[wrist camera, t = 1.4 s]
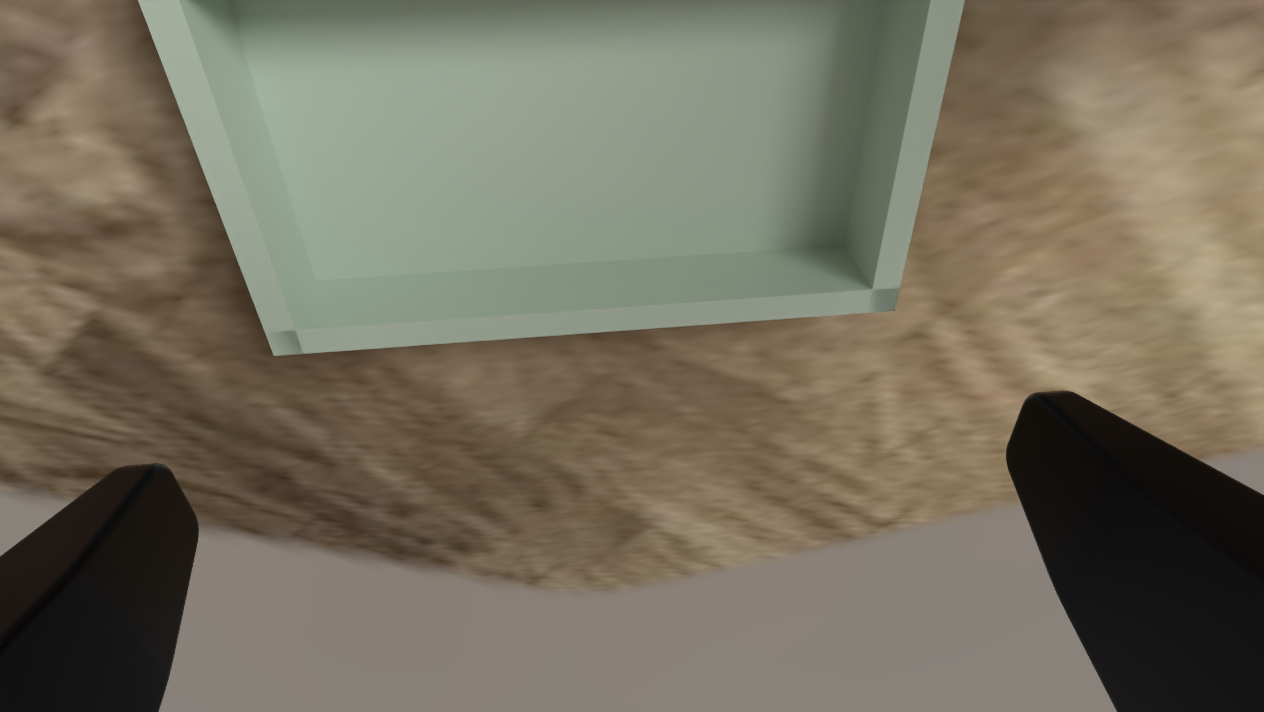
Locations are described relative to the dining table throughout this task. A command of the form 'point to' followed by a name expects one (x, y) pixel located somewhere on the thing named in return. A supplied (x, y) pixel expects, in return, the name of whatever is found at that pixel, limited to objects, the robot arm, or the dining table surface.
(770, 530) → the dining table surface
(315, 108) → the green tray
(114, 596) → the robot arm
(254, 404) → the dining table surface
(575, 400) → the dining table surface
